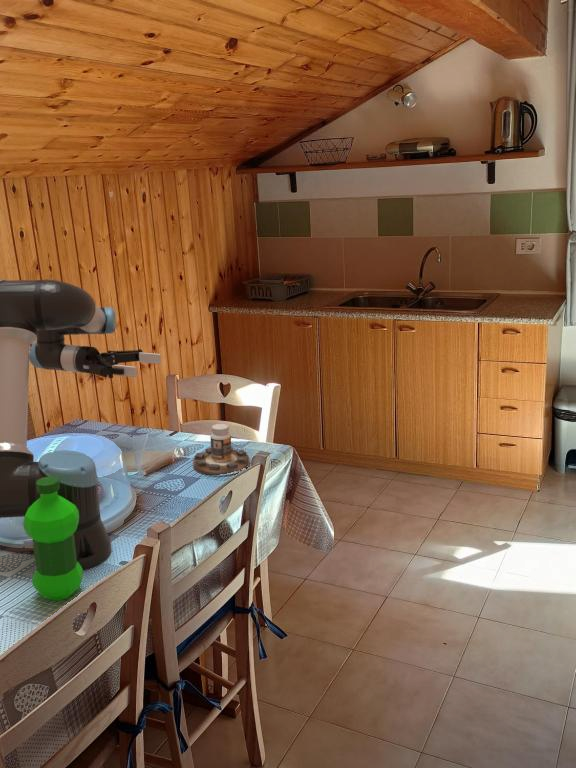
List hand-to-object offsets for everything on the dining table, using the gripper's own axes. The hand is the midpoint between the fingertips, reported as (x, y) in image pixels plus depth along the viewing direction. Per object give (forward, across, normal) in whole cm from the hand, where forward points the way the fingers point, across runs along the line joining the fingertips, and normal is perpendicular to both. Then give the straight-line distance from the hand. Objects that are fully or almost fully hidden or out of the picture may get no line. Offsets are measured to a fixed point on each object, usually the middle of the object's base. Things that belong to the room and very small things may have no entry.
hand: (148, 365), depth 206 cm
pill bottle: (+18, -6, -28) cm, 34 cm away
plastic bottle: (+12, +64, -30) cm, 72 cm away
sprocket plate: (+18, -6, -30) cm, 35 cm away
